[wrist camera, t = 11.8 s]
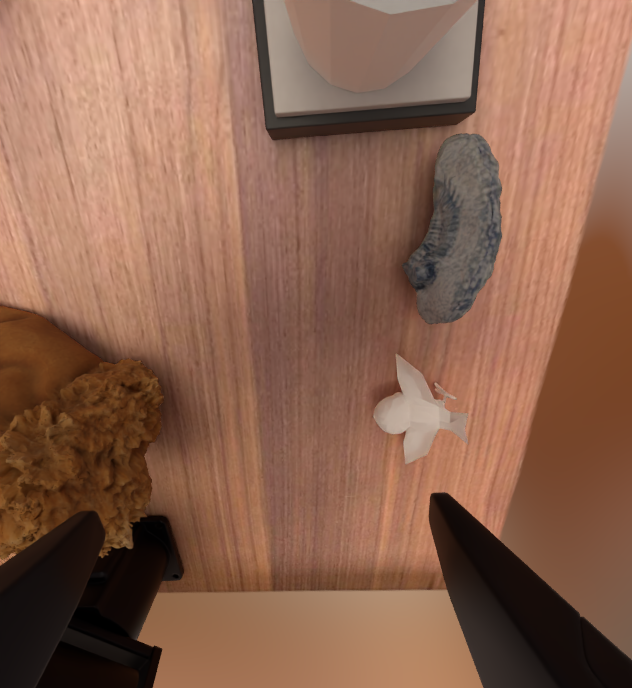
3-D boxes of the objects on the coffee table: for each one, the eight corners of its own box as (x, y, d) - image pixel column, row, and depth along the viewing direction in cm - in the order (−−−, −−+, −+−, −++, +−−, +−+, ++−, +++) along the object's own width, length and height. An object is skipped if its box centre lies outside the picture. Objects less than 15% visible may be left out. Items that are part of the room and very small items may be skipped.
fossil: (409, 144, 16) (447, 115, 12) (479, 148, 16) (545, 120, 12) (389, 308, 19) (412, 338, 14) (448, 311, 19) (490, 341, 15)
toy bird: (356, 353, 19) (404, 384, 15) (422, 332, 21) (483, 356, 16) (371, 461, 22) (415, 513, 18) (428, 437, 23) (481, 480, 19)
